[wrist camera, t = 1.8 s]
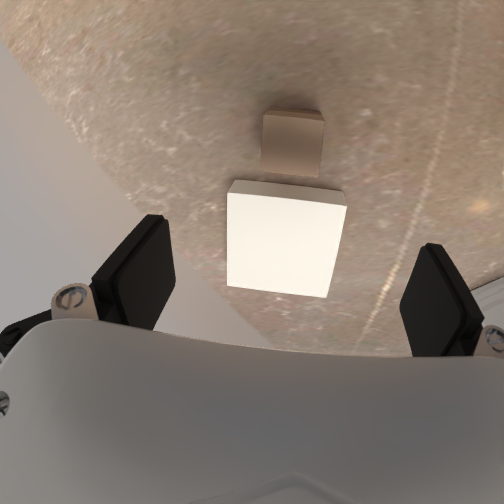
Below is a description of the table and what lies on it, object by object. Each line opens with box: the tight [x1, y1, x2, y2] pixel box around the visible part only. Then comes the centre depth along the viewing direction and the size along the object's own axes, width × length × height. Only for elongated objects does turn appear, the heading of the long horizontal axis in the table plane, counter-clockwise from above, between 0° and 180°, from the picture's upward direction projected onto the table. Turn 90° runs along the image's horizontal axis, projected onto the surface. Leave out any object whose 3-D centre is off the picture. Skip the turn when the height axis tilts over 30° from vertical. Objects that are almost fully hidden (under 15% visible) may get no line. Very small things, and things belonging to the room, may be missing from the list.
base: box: [227, 179, 347, 298], centre depth 35 cm, size 12×12×4 cm
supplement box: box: [470, 277, 504, 330], centre depth 31 cm, size 7×7×13 cm
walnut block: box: [260, 107, 325, 178], centre depth 27 cm, size 5×5×7 cm
